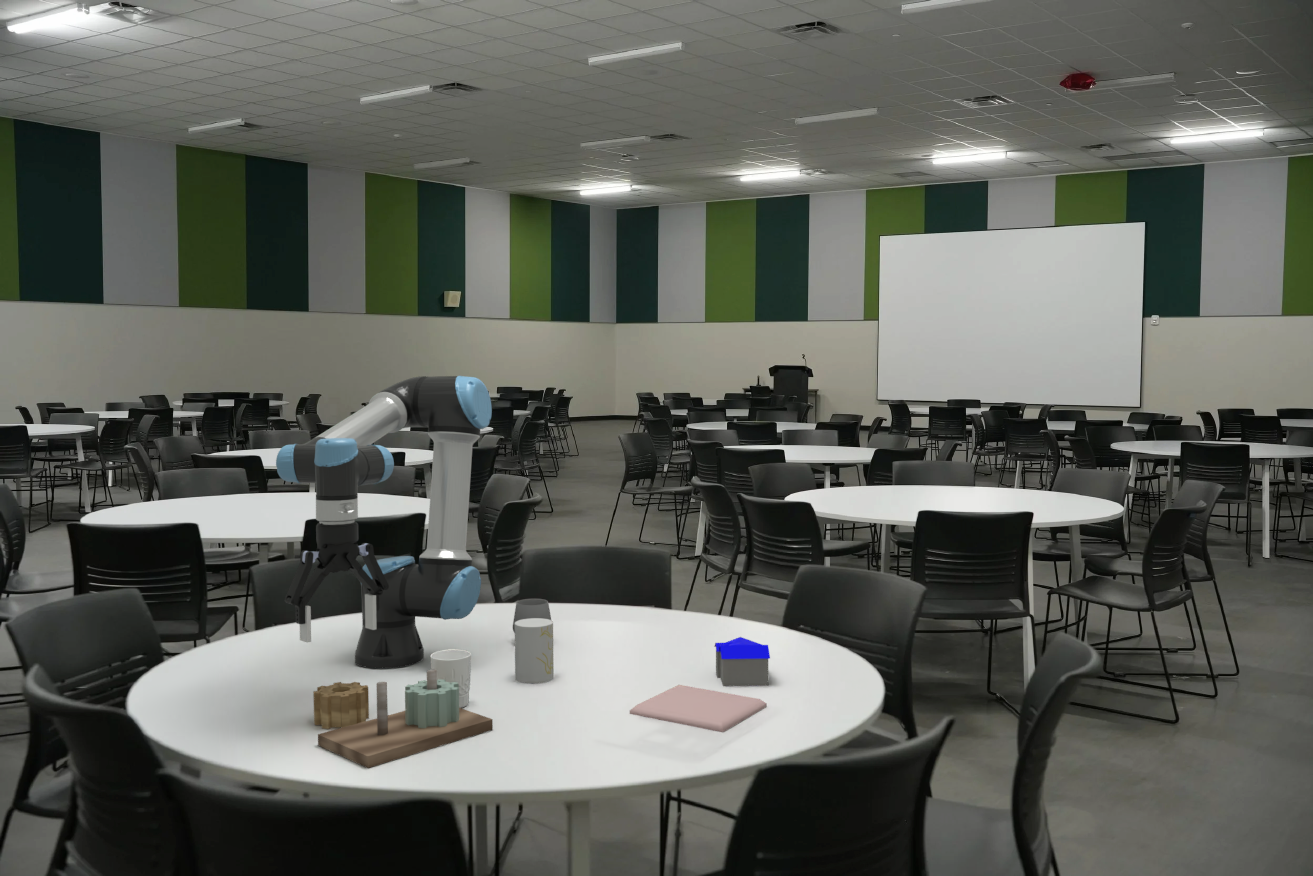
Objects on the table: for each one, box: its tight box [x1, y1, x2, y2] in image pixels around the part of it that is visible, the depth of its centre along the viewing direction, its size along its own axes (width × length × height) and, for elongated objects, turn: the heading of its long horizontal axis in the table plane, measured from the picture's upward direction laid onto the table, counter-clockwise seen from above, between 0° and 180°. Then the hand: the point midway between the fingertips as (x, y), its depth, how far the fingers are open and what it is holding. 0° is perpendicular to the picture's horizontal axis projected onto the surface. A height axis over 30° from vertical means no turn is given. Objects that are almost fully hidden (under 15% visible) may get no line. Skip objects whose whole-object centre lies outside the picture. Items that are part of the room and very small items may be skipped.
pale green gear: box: [404, 679, 459, 728], centre depth 200 cm, size 10×10×6 cm
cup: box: [512, 598, 552, 634], centre depth 263 cm, size 10×9×10 cm
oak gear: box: [312, 681, 370, 730], centre depth 206 cm, size 10×10×6 cm
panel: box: [629, 684, 767, 733], centre depth 206 cm, size 35×33×2 cm
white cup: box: [429, 648, 472, 709], centre depth 215 cm, size 8×8×10 cm
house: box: [714, 636, 771, 687], centre depth 233 cm, size 10×11×8 cm
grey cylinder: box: [514, 618, 555, 685], centre depth 233 cm, size 8×8×12 cm
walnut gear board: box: [317, 669, 494, 769], centre depth 196 cm, size 16×26×11 cm, turn 137°
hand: (339, 634), depth 205 cm, fingers open, 13 cm apart
